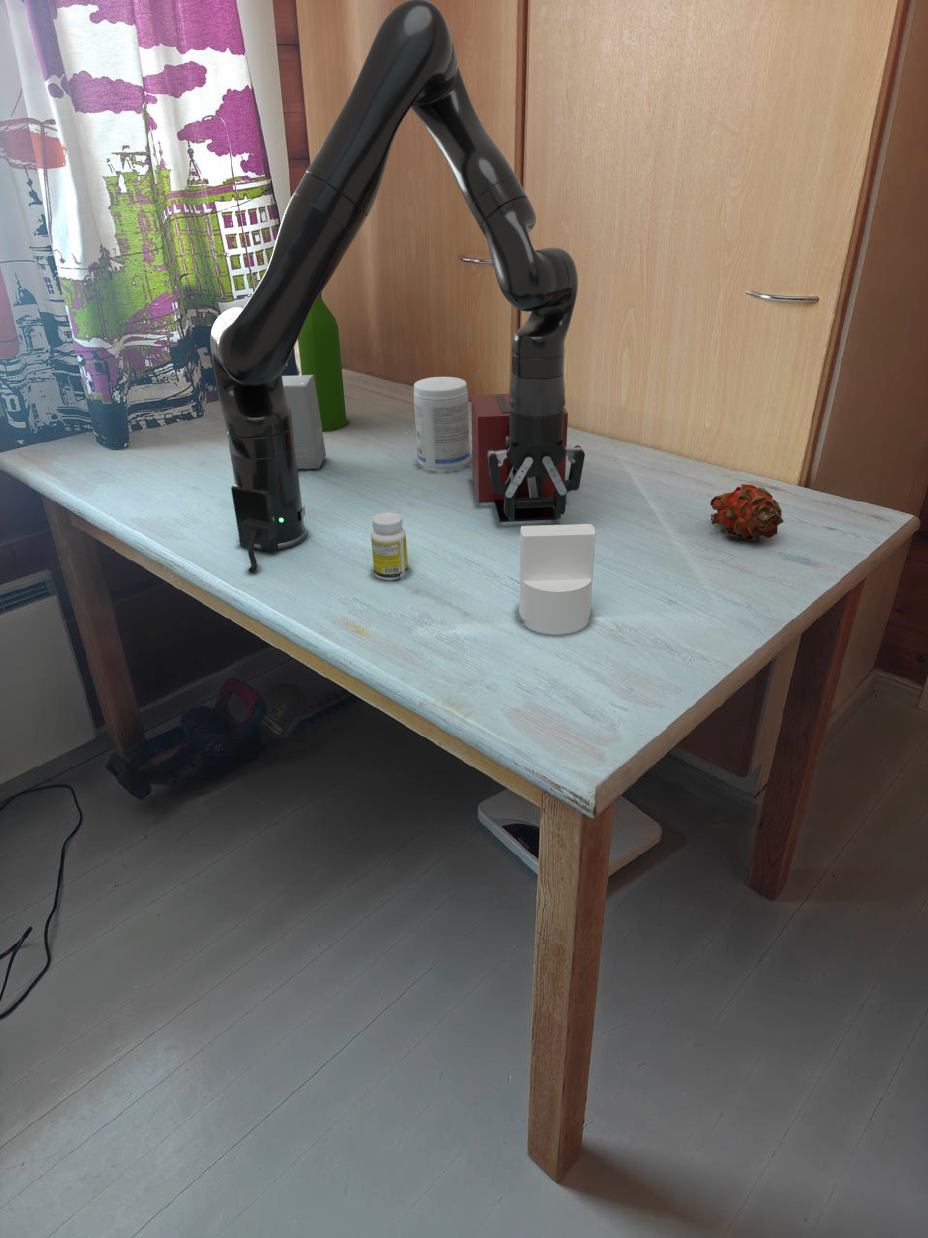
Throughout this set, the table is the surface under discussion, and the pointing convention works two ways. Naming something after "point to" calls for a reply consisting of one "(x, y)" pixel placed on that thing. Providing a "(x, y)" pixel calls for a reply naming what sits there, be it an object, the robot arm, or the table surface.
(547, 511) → the lever bracket
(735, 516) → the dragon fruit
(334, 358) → the wine bottle
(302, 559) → the table surface
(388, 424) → the table surface
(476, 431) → the toaster
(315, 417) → the cosmetic box
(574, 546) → the cylinder with rectangular tab
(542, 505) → the lever
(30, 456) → the table surface
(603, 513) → the table surface
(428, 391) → the supplement tub
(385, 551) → the supplement bottle
